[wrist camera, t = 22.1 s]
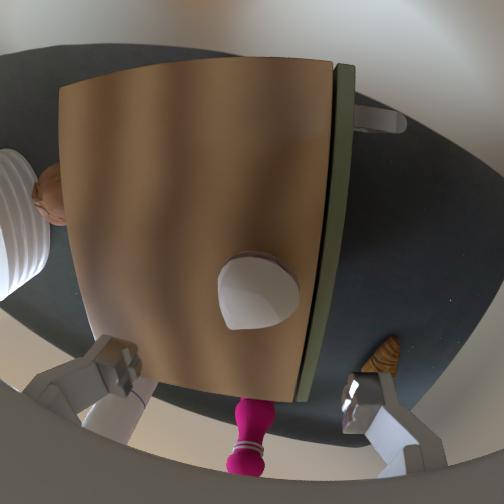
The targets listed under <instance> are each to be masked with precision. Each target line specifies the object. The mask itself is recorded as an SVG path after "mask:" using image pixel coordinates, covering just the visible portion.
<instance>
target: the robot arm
mask: <svg viewBox="0 0 504 504" xmlns="http://www.w3.org/2000/svg"><path fill="white" fill-rule="evenodd" d="M137 352H138V347H137V344H136V343H133V342H130V341H126V340H123V339H119V338H116V337H112V336H109V335H105V334H104V335H101V336H100V338H99V339H98V340H97V341H96V342H95V343H94V345H93V346H92V347H91V348H90V349H89V351H88V352H87V353H86V354H85V355H84V357H83V358H81V357H79V358H76V359H74V360H71V361H69V362H67V363H64V364H62V365H59V366H57V367H55V368H52V369H50V370H47V371H45V372H42V373H40V374H37V375H36V376H35V377H34V379H33V380H32V381H31V382H30V383H29V384H28V386H27V387H26V388H25V389H24V390H23V391H22V393H20V392H19V391H17V390H16V389H14V388H13V387H11V386H10V385H8V384H7V383H6V382H4V381H3V380H1V379H0V504H504V449H502V450H499V451H496V452H494V453H491V454H488V455H485V456H482V457H479V458H476V459H473V460H469V461H466V462H462V463H459V464H455V465H451V466H448V465H447V460H446V456H445V452H444V449H443V445H442V441H441V439H440V438H439V437H438V436H437V435H436V434H434V433H433V432H432V431H431V430H430V429H429V428H428V427H427V426H426V425H425V424H423V423H422V422H421V421H420V420H419V419H418V418H417V417H416V416H415V415H414V414H413V413H412V412H410V411H409V410H408V409H407V408H406V407H405V406H404V405H403V404H399V402H398V398H397V395H396V391H395V387H394V383H393V380H392V376H391V373H390V372H351V373H350V374H349V377H348V385H346V386H345V387H344V390H343V393H342V399H341V408H342V411H343V412H344V413H345V414H344V416H343V419H342V422H343V433H365V436H366V437H367V438H368V440H369V441H370V442H371V444H372V445H373V446H374V448H375V449H376V450H377V452H378V453H379V454H380V455H381V457H382V458H383V460H384V461H385V462H386V464H387V465H388V466H387V467H386V468H385V469H384V470H383V471H382V472H381V473H380V474H379V475H378V476H377V478H376V479H365V480H348V481H303V480H285V479H273V478H263V477H254V476H247V475H240V474H234V473H227V472H222V471H217V470H212V469H207V468H202V467H197V466H193V465H189V464H185V463H181V462H177V461H174V460H170V459H166V458H163V457H160V456H157V455H153V454H150V453H147V452H144V451H141V450H138V449H135V448H132V447H130V446H127V445H124V444H122V443H119V442H116V441H114V440H111V439H109V438H107V437H104V436H102V435H99V434H97V433H95V432H93V431H90V430H88V429H86V428H84V427H82V422H81V421H80V420H79V418H78V416H77V414H78V413H80V412H81V411H83V410H84V409H86V408H88V407H89V406H91V405H93V404H94V403H96V402H97V401H99V400H101V399H102V398H104V397H105V396H107V395H108V394H109V393H110V394H113V395H116V396H119V397H122V398H127V397H128V395H129V393H130V392H131V390H132V388H133V385H132V382H134V381H136V380H138V378H139V376H140V374H141V370H142V361H141V358H140V357H139V356H138V355H137V354H136V353H137Z"/></svg>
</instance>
